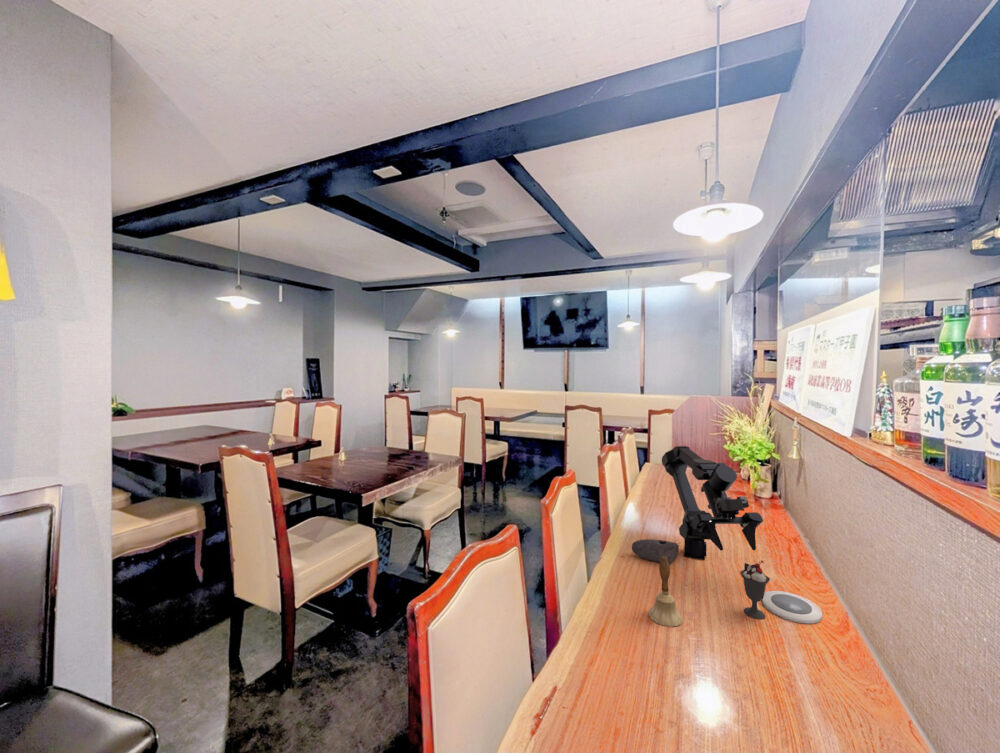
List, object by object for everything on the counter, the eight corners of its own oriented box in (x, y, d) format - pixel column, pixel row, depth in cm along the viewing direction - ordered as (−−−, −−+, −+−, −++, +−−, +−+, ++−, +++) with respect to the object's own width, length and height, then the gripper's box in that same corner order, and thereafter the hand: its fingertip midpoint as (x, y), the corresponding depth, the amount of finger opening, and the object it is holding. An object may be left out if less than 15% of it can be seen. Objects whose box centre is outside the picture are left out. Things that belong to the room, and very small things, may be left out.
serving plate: (765, 615, 106) (765, 609, 106) (759, 590, 117) (759, 585, 117) (827, 629, 100) (827, 623, 100) (815, 602, 111) (815, 597, 111)
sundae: (770, 624, 102) (770, 566, 101) (739, 616, 105) (739, 559, 105) (769, 611, 107) (769, 555, 107) (740, 603, 111) (740, 549, 111)
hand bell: (667, 631, 100) (667, 567, 99) (641, 613, 107) (641, 553, 107) (689, 621, 103) (690, 559, 103) (663, 604, 111) (663, 547, 110)
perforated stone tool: (630, 558, 138) (630, 538, 138) (633, 552, 142) (633, 532, 142) (677, 568, 131) (677, 547, 130) (679, 561, 135) (679, 541, 135)
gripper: (696, 486, 119) (716, 538, 108) (759, 485, 119) (785, 538, 108) (684, 503, 127) (701, 554, 116) (743, 503, 127) (766, 553, 116)
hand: (738, 550), depth 114 cm, fingers open, 9 cm apart
